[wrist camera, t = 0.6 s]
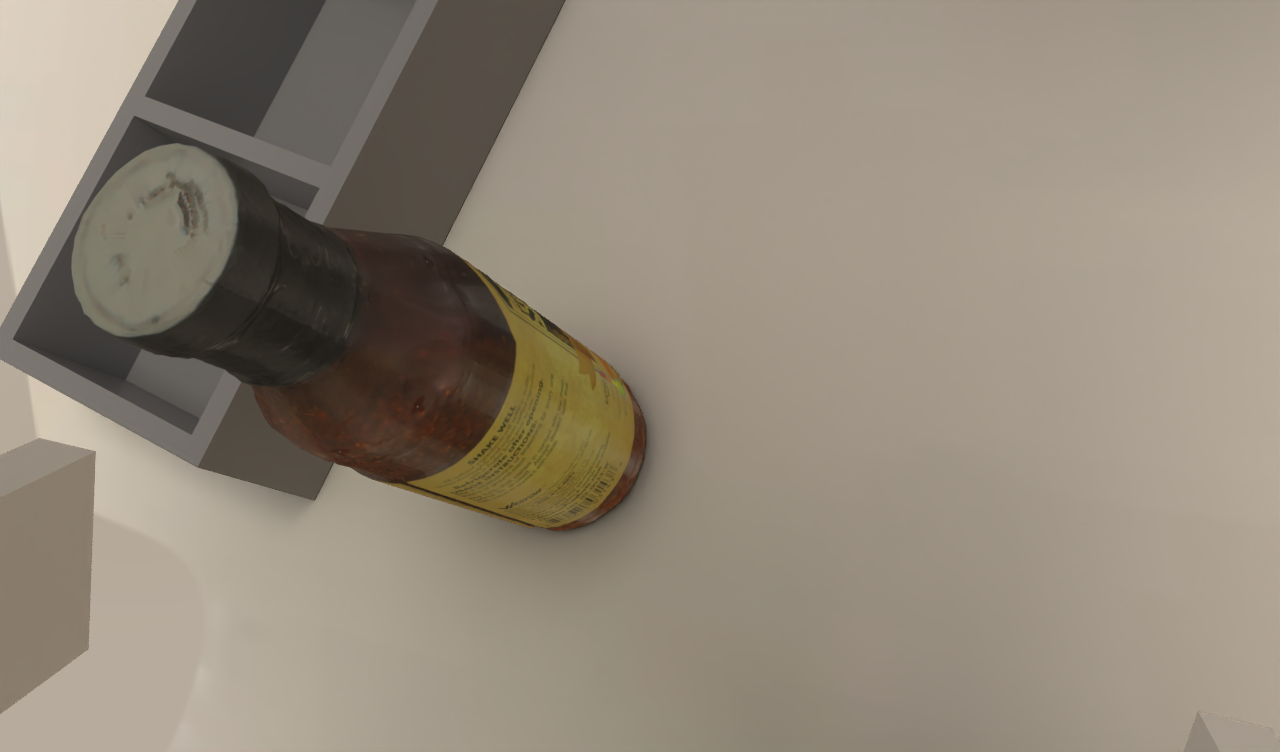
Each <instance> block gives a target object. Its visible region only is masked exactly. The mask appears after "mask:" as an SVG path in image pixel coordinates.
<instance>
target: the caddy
mask: <svg viewBox="0 0 1280 752" xmlns="http://www.w3.org/2000/svg"><path fill="white" fill-rule="evenodd" d="M564 1H565V0H179V1H178V3H177V5H176V6H175V8H174V10H173V12H172V14H171V16H170V17H169V19H168V21H167V23H166V25H165V27H164V28H163V30H162V32H161V34H160V36H159V38H158V39H157V41H156V43H155V45H154V47H153V49H152V50H151V52H150V54H149V56H148V58H147V60H146V61H145V63H144V65H143V67H142V69H141V71H140V72H139V74H138V76H137V78H136V80H135V82H134V83H133V85H132V87H131V89H130V91H129V93H128V94H127V96H126V98H125V100H124V102H123V104H122V105H121V107H120V109H119V111H118V113H117V115H116V116H115V118H114V120H113V122H112V124H111V126H110V127H109V129H108V131H107V133H106V135H105V137H104V138H103V140H102V142H101V144H100V146H99V148H98V149H97V151H96V153H95V155H94V157H93V159H92V160H91V162H90V164H89V166H88V168H87V170H86V171H85V173H84V175H83V177H82V179H81V181H80V182H79V184H78V186H77V188H76V190H75V191H74V193H73V195H72V197H71V199H70V201H69V202H68V204H67V206H66V208H65V210H64V212H63V213H62V215H61V217H60V219H59V221H58V223H57V224H56V226H55V228H54V230H53V232H52V234H51V235H50V237H49V239H48V241H47V243H46V245H45V246H44V248H43V250H42V252H41V254H40V256H39V257H38V259H37V261H36V263H35V265H34V267H33V268H32V270H31V272H30V274H29V276H28V278H27V279H26V281H25V283H24V285H23V287H22V289H21V290H20V292H19V294H18V296H17V298H16V300H15V301H14V303H13V305H12V307H11V309H10V311H9V312H8V314H7V316H6V318H5V320H4V322H3V323H2V325H1V327H0V359H1V360H3V361H4V362H6V363H8V364H10V365H12V366H14V367H16V368H17V369H19V370H21V371H23V372H25V373H26V374H28V375H30V376H32V377H34V378H35V379H37V380H39V381H41V382H43V383H45V384H46V385H48V386H50V387H52V388H54V389H56V390H57V391H59V392H61V393H63V394H65V395H66V396H68V397H70V398H72V399H74V400H76V401H77V402H79V403H81V404H83V405H85V406H87V407H88V408H90V409H92V410H94V411H96V412H97V413H99V414H101V415H103V416H105V417H107V418H108V419H110V420H112V421H114V422H116V423H118V424H119V425H121V426H123V427H125V428H127V429H128V430H130V431H132V432H134V433H136V434H138V435H139V436H141V437H143V438H145V439H147V440H149V441H150V442H152V443H154V444H156V445H158V446H159V447H161V448H163V449H165V450H167V451H169V452H170V453H172V454H174V455H176V456H178V457H180V458H181V459H183V460H185V461H187V462H189V463H190V464H192V465H194V466H196V467H198V468H202V469H205V470H209V471H212V472H216V473H219V474H223V475H226V476H230V477H233V478H237V479H241V480H244V481H248V482H251V483H255V484H258V485H262V486H265V487H269V488H272V489H276V490H279V491H283V492H287V493H290V494H294V495H297V496H301V497H304V498H308V499H311V500H315V498H316V496H317V494H318V492H319V490H320V488H321V486H322V484H323V482H324V480H325V478H326V476H327V474H328V472H329V470H330V468H331V466H332V464H333V462H328V461H325V460H323V459H321V458H319V457H316V456H315V455H312V454H310V453H308V452H307V451H305V450H301V449H300V448H299V447H298V446H296V445H294V444H293V443H292V442H291V441H290V440H289V439H287V438H286V437H284V436H283V435H281V434H280V433H278V432H277V431H276V430H275V429H273V428H271V426H270V425H269V424H268V422H267V421H266V419H265V418H264V416H263V414H262V412H261V410H260V407H259V405H258V403H257V401H256V400H255V396H254V390H253V388H252V386H251V385H248V384H245V383H242V382H240V381H239V380H238V379H237V378H236V377H234V376H232V375H231V374H229V373H228V372H227V371H226V370H224V369H221V368H218V367H216V366H213V365H210V364H207V363H205V362H203V361H201V360H198V359H195V358H190V359H184V358H177V357H168V356H164V355H155V354H153V353H151V352H148V351H145V350H143V349H141V348H139V347H137V346H134V345H132V344H129V343H127V342H124V341H122V340H120V339H118V338H116V337H113V336H111V335H109V334H107V333H105V332H104V331H102V330H101V329H99V328H98V327H97V326H96V325H94V323H93V322H92V321H91V320H90V319H89V318H87V317H86V316H85V315H84V312H83V309H82V305H81V303H80V302H79V300H78V298H77V296H76V294H75V291H74V283H73V279H72V270H71V265H72V253H73V248H74V238H75V236H76V233H77V231H78V228H79V225H80V222H81V219H82V216H83V214H84V213H85V211H86V210H87V208H88V207H89V205H90V204H91V202H92V201H93V199H94V198H95V196H96V195H97V194H98V193H99V191H100V190H101V189H102V188H103V186H104V185H105V184H106V182H107V181H108V180H109V179H110V178H111V177H112V176H113V175H114V173H115V172H117V171H118V170H119V169H120V168H122V167H123V166H124V165H125V164H127V163H128V162H129V161H131V160H132V159H133V158H135V157H136V156H138V155H140V154H141V153H143V152H144V151H146V150H150V149H152V148H155V147H158V146H161V145H167V144H174V143H181V144H186V145H191V146H197V147H200V148H203V149H206V150H210V151H212V152H214V153H216V154H218V155H220V156H222V157H224V158H226V159H227V160H229V161H231V162H233V163H235V164H237V165H239V166H241V167H243V168H245V169H247V170H248V171H250V172H251V173H252V174H253V175H255V176H256V177H257V178H258V179H259V180H260V181H261V182H262V183H263V184H264V185H265V187H266V189H267V191H268V193H269V194H270V196H271V197H272V198H273V199H274V200H276V201H277V202H279V203H282V204H284V205H286V206H287V207H289V208H290V209H291V210H292V211H294V212H296V213H298V214H299V215H301V216H303V217H304V218H306V219H308V220H309V221H312V222H316V223H319V224H322V225H324V226H326V227H331V228H340V229H350V230H360V231H369V232H379V233H392V234H404V235H411V236H418V237H421V238H425V239H428V240H431V241H433V242H435V243H438V244H440V245H443V243H444V241H445V239H446V237H447V235H448V233H449V231H450V229H451V227H452V225H453V223H454V221H455V219H456V217H457V215H458V213H459V211H460V209H461V207H462V205H463V203H464V201H465V199H466V197H467V195H468V193H469V191H470V189H471V187H472V185H473V183H474V181H475V179H476V177H477V175H478V173H479V171H480V169H481V167H482V165H483V163H484V161H485V159H486V157H487V155H488V153H489V151H490V149H491V147H492V145H493V143H494V141H495V139H496V137H497V135H498V133H499V131H500V129H501V127H502V125H503V123H504V121H505V119H506V117H507V115H508V113H509V111H510V109H511V107H512V105H513V103H514V101H515V99H516V97H517V95H518V93H519V91H520V89H521V87H522V85H523V83H524V81H525V79H526V77H527V75H528V73H529V71H530V69H531V67H532V65H533V63H534V61H535V59H536V57H537V55H538V53H539V51H540V49H541V47H542V45H543V43H544V41H545V39H546V37H547V35H548V33H549V31H550V29H551V27H552V25H553V23H554V21H555V19H556V17H557V15H558V13H559V11H560V9H561V7H562V5H563V3H564Z"/></svg>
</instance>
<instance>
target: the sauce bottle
mask: <svg viewBox="0 0 1280 752" xmlns="http://www.w3.org/2000/svg"><path fill="white" fill-rule="evenodd" d="M71 270H72V279H73V283H74V291H75V294H76V296H77V298H78V300H79V302H80V303H81V305H82V309H83V312H84V315H85V316H86V317H87V318H89V319H90V320H91V321H92V322H93V323H94V325H96V326H97V327H98V328H99V329H101V330H102V331H104V332H105V333H107V334H109V335H111V336H113V337H116V338H118V339H120V340H122V341H124V342H127V343H129V344H132V345H134V346H137V347H139V348H141V349H143V350H145V351H148V352H151V353H153V354H155V355H164V356H168V357H177V358H184V359H190V358H195V359H198V360H201V361H203V362H205V363H207V364H210V365H213V366H216V367H218V368H221V369H224V370H226V371H227V372H228V373H229V374H231V375H232V376H234V377H236V378H237V379H238V380H239V381H240V382H242V383H245V384H248V385H251V386H252V388H253V390H254V396H255V400H256V401H257V403H258V405H259V407H260V410H261V412H262V414H263V416H264V418H265V419H266V421H267V422H268V424H269V425H270V426H271V428H273V429H275V430H276V431H277V432H278V433H280V434H281V435H283V436H284V437H286V438H287V439H289V440H290V441H291V442H292V443H293V444H294V445H296V446H298V447H299V448H300V449H301V450H305V451H307V452H308V453H310V454H312V455H315V456H316V457H319V458H321V459H323V460H325V461H328V462H334V463H336V464H338V465H343V466H347V467H350V468H352V469H354V470H355V471H357V472H358V473H360V474H362V475H364V476H366V477H368V478H370V479H373V480H376V481H379V482H382V483H385V484H388V485H392V486H395V487H398V488H401V489H405V490H408V491H411V492H414V493H418V494H421V495H424V496H427V497H430V498H433V499H437V500H440V501H443V502H446V503H449V504H453V505H456V506H459V507H462V508H465V509H469V510H472V511H475V512H478V513H482V514H485V515H488V516H492V517H495V518H499V519H502V520H505V521H508V522H511V523H514V524H517V525H520V526H524V527H529V528H534V527H535V526H537V527H544V528H547V529H549V530H553V531H560V530H567V529H572V528H577V527H581V526H584V525H586V524H588V523H591V522H594V521H595V520H596V519H597V518H599V517H600V516H602V515H604V514H605V513H606V512H608V511H609V510H611V509H613V508H614V507H615V506H616V505H617V504H618V503H620V502H621V501H622V500H623V498H624V497H625V496H626V495H627V494H628V492H629V491H630V488H631V486H632V485H633V484H634V482H635V481H636V479H637V475H638V472H639V469H640V467H641V465H642V461H643V459H644V449H645V444H646V429H645V422H644V418H643V416H642V412H641V409H640V407H639V405H638V403H637V402H636V399H635V398H634V397H633V395H632V393H631V391H630V388H629V386H628V385H627V384H626V383H625V382H624V381H623V380H622V379H621V378H620V376H619V374H618V373H617V372H616V371H615V369H614V368H612V367H611V366H610V365H609V364H608V363H607V362H606V361H604V360H603V359H602V358H601V357H599V356H598V355H596V354H595V353H593V352H592V351H591V350H589V349H588V348H587V347H585V346H584V345H582V344H581V343H580V342H578V341H577V340H575V339H574V338H572V337H571V336H570V335H568V334H567V333H566V332H564V331H563V330H562V329H560V328H559V327H557V326H556V325H555V324H553V323H552V322H550V321H549V320H548V319H546V318H545V317H543V316H542V315H541V314H539V313H538V312H537V311H535V310H533V309H532V308H530V307H529V306H528V305H527V304H526V303H525V302H524V301H522V300H520V299H519V298H518V297H516V296H514V295H513V294H512V293H511V292H509V291H507V290H506V289H504V288H503V287H501V286H500V285H499V284H497V283H496V282H494V281H493V280H492V279H491V278H489V277H488V276H487V275H486V274H484V273H483V272H481V271H480V270H478V269H476V268H475V267H473V266H472V265H471V264H470V263H469V262H467V261H466V260H464V259H462V258H460V257H459V256H458V255H456V254H455V253H453V252H452V251H450V250H449V249H447V248H445V247H444V246H442V245H440V244H438V243H435V242H433V241H431V240H428V239H425V238H421V237H418V236H411V235H404V234H392V233H379V232H369V231H360V230H350V229H340V228H331V227H326V226H324V225H322V224H319V223H316V222H312V221H309V220H308V219H306V218H304V217H303V216H301V215H299V214H298V213H296V212H294V211H292V210H291V209H290V208H289V207H287V206H286V205H284V204H282V203H279V202H277V201H276V200H274V199H273V198H272V197H271V196H270V194H269V193H268V191H267V189H266V187H265V185H264V184H263V183H262V182H261V181H260V180H259V179H258V178H257V177H256V176H255V175H253V174H252V173H251V172H250V171H248V170H247V169H245V168H243V167H241V166H239V165H237V164H235V163H233V162H231V161H229V160H227V159H226V158H224V157H222V156H220V155H218V154H216V153H214V152H212V151H210V150H206V149H203V148H200V147H197V146H191V145H186V144H181V143H174V144H167V145H161V146H158V147H155V148H152V149H150V150H146V151H144V152H143V153H141V154H140V155H138V156H136V157H135V158H133V159H132V160H131V161H129V162H128V163H127V164H125V165H124V166H123V167H122V168H120V169H119V170H118V171H117V172H115V173H114V175H113V176H112V177H111V178H110V179H109V180H108V181H107V182H106V184H105V185H104V186H103V188H102V189H101V190H100V191H99V193H98V194H97V195H96V196H95V198H94V199H93V201H92V202H91V204H90V205H89V207H88V208H87V210H86V211H85V213H84V214H83V216H82V219H81V222H80V225H79V228H78V231H77V233H76V236H75V238H74V248H73V253H72V265H71Z"/></svg>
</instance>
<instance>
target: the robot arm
mask: <svg viewBox="0 0 1280 752" xmlns="http://www.w3.org/2000/svg"><path fill="white" fill-rule="evenodd" d="M95 454H96V451H92V450H87V449H83V448H79V447H75V446H70V445H66V444H62V443H58V442H53V441H49V440H45V439H41V438H39V439H36V440H34V441H32V442H30V443H27V444H25V445H23V446H20V447H18V448H16V449H13V450H11V451H9V452H7V453H4V454H2V455H0V714H1V713H2V712H4V711H5V710H7V709H8V708H9V707H11V706H12V705H13V704H15V703H16V702H17V701H19V700H20V699H21V698H23V697H24V696H26V695H27V694H28V693H29V692H31V691H32V690H34V689H35V688H36V687H38V686H39V685H40V684H42V683H43V682H45V681H46V680H47V679H49V678H50V677H51V676H52V675H54V674H55V673H57V672H58V671H59V670H61V669H62V668H64V667H65V666H66V665H68V664H69V663H70V662H72V661H73V660H74V659H76V658H77V657H78V656H80V655H81V654H82V653H84V652H85V651H87V650H88V647H89V645H88V644H89V618H90V591H91V564H92V563H91V562H92V537H93V535H92V534H93V509H94V482H95ZM1184 752H1280V740H1279V739H1278V737H1277V736H1276V734H1275V733H1274V731H1273V730H1272V729H1271V728H1267V727H1263V726H1259V725H1255V724H1250V723H1246V722H1242V721H1238V720H1233V719H1229V718H1225V717H1221V716H1216V715H1212V714H1208V713H1204V712H1199V711H1198V713H1197V715H1196V718H1195V721H1194V724H1193V727H1192V730H1191V733H1190V736H1189V739H1188V742H1187V745H1186V747H1185V750H1184Z"/></svg>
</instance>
